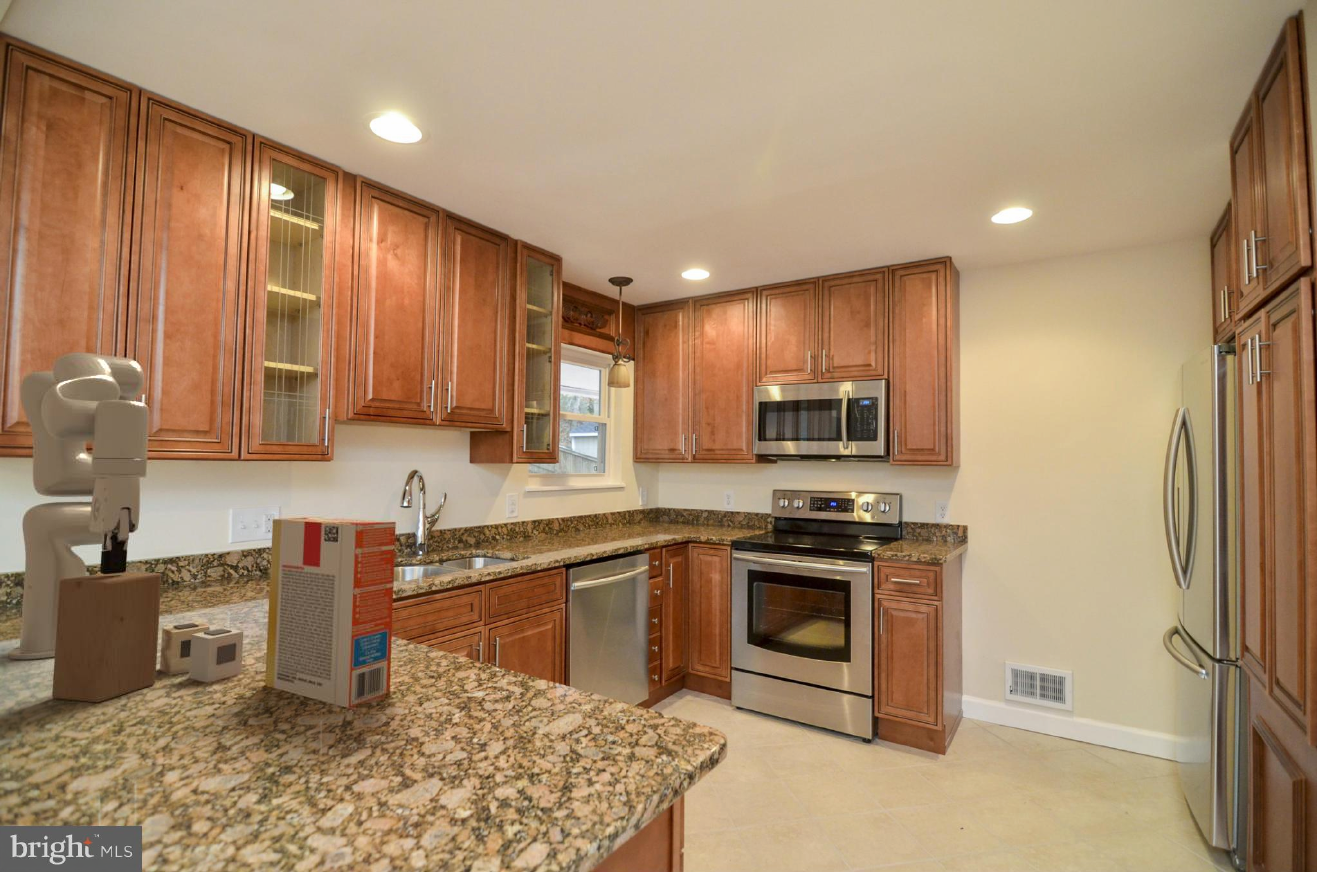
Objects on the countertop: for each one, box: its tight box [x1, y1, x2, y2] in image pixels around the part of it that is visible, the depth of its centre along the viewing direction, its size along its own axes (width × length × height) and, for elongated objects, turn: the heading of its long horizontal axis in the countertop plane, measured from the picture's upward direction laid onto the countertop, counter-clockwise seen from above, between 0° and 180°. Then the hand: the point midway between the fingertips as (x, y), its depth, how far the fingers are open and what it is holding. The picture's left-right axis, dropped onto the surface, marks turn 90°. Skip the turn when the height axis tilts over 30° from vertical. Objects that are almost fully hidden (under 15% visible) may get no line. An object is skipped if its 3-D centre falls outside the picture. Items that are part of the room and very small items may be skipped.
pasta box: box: [264, 516, 397, 709], centre depth 114 cm, size 23×8×30 cm, turn 63°
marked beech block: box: [159, 621, 210, 676], centre depth 124 cm, size 6×6×8 cm
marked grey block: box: [188, 627, 244, 684], centre depth 120 cm, size 6×6×8 cm
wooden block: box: [51, 571, 162, 703], centre depth 111 cm, size 10×10×20 cm
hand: (113, 572), depth 112 cm, fingers closed
